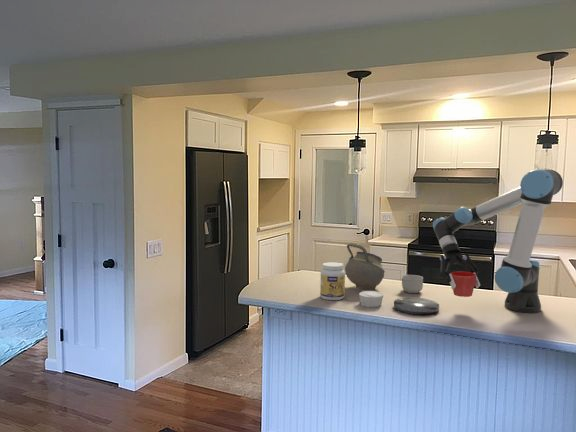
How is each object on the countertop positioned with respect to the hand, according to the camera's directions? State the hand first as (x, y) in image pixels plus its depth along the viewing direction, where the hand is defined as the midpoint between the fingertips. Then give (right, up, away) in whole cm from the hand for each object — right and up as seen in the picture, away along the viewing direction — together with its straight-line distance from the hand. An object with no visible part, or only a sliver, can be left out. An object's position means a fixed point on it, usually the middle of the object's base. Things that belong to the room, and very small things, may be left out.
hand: (466, 287), depth 208 cm
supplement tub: (-57, -9, +25) cm, 63 cm away
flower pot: (0, -4, +3) cm, 5 cm away
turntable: (-20, -11, +7) cm, 24 cm away
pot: (-39, -7, +41) cm, 57 cm away
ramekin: (-40, -11, +13) cm, 43 cm away
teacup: (-15, -8, +37) cm, 41 cm away
